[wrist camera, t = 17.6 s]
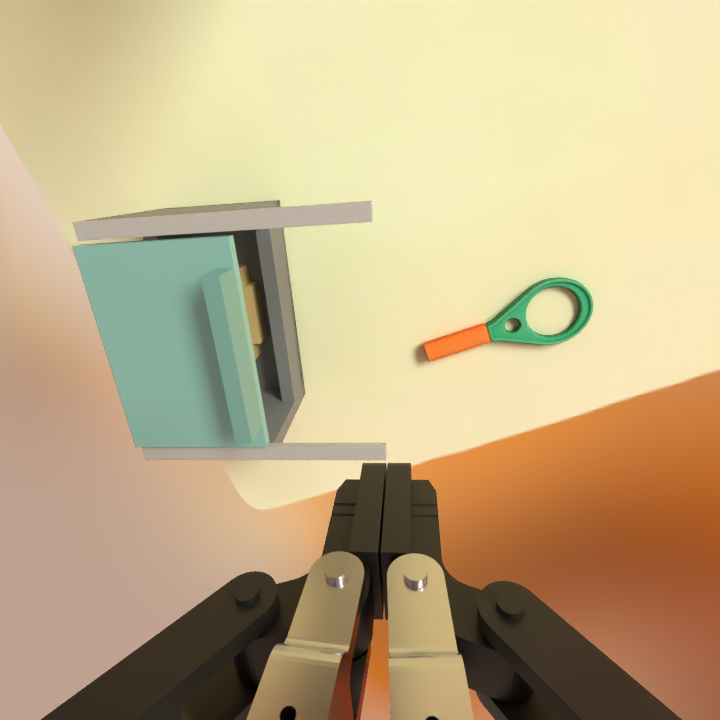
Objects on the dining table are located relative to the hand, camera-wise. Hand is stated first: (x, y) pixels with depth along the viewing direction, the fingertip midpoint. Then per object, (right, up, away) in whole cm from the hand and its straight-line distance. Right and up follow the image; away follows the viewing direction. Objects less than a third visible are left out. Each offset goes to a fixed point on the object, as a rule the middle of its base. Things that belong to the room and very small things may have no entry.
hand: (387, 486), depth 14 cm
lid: (-14, +5, +19) cm, 24 cm away
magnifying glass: (+13, +7, +28) cm, 31 cm away
